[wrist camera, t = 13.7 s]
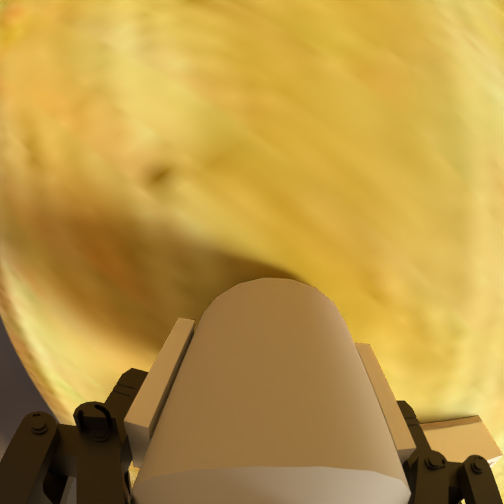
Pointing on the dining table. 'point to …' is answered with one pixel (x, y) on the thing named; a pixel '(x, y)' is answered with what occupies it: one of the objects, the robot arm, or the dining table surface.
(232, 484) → the can
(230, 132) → the dining table surface
